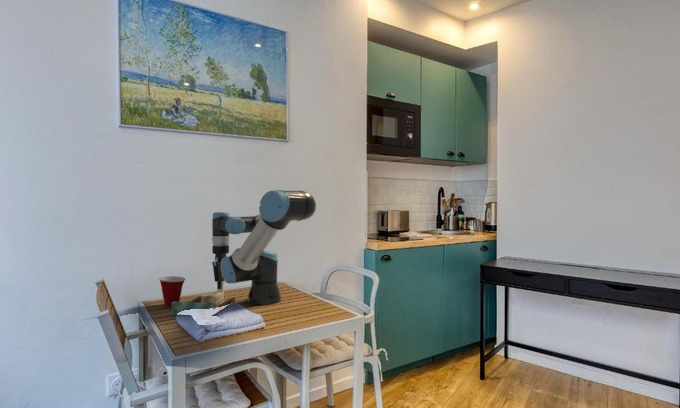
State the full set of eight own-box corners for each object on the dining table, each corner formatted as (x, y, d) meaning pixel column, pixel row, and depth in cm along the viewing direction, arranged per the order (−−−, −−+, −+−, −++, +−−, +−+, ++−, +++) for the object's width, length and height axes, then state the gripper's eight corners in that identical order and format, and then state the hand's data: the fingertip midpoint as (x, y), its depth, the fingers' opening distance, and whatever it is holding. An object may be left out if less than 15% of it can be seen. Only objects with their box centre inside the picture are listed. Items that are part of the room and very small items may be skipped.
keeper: (223, 302, 180) (223, 293, 180) (215, 306, 173) (215, 296, 173) (210, 301, 182) (210, 292, 182) (201, 305, 175) (201, 295, 175)
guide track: (235, 301, 181) (235, 290, 181) (211, 317, 157) (211, 304, 157) (200, 300, 183) (200, 289, 183) (171, 315, 160) (171, 302, 160)
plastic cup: (184, 306, 172) (184, 279, 172) (157, 308, 169) (157, 280, 169) (186, 300, 182) (186, 274, 182) (160, 302, 179) (160, 275, 179)
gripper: (219, 243, 192) (219, 291, 192) (206, 246, 179) (206, 298, 179) (234, 243, 191) (233, 292, 191) (222, 246, 178) (222, 299, 178)
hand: (220, 295), depth 185 cm, fingers closed
